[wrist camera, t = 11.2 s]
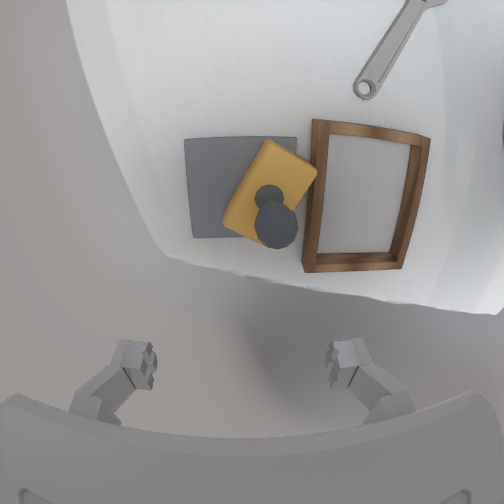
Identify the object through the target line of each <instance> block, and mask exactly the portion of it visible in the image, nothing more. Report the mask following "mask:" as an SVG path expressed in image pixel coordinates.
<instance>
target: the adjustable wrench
mask: <svg viewBox="0 0 504 504" xmlns="http://www.w3.org/2000/svg"><path fill="white" fill-rule="evenodd" d="M446 2H447V0H406V3H405V5H404V6H403V8H402V9H401V11H400V13H399V14H398V16H397V17H396V19H395V20H394V22H393V23H392V25H391V26H390V28H389V29H388V31H387V32H386V34H385V35H384V37H383V39H382V40H381V42H380V43H379V45H378V46H377V48H376V49H375V51H374V52H373V54H372V55H371V57H370V59H369V60H368V62H367V63H366V65H365V66H364V68H363V69H362V71H361V72H360V74H359V76H358V77H357V79H356V80H355V82H354V84H353V89H354V92H355V93H356V95H357V96H358V97H360V98H363V99H372V98H374V97H375V96H376V94H377V93H378V91H379V89H380V88H381V86H382V84H383V83H384V81H385V79H386V77H387V76H388V74H389V72H390V70H391V69H392V67H393V65H394V64H395V62H396V60H397V58H398V57H399V55H400V53H401V51H402V49H403V48H404V46H405V44H406V42H407V41H408V39H409V37H410V35H411V33H412V32H413V30H414V28H415V26H416V24H417V23H418V21H419V19H420V17H421V15H422V13H423V12H424V11H425V10H426V9H428V8H430V7H432V6H437V5H441V4H444V3H446ZM362 81H365V82H368V83H369V84H370V86H371V92H370V93H369V94H368V95H363V94H361V93H360V91H359V89H358V85H359V83H360V82H362Z"/></svg>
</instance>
